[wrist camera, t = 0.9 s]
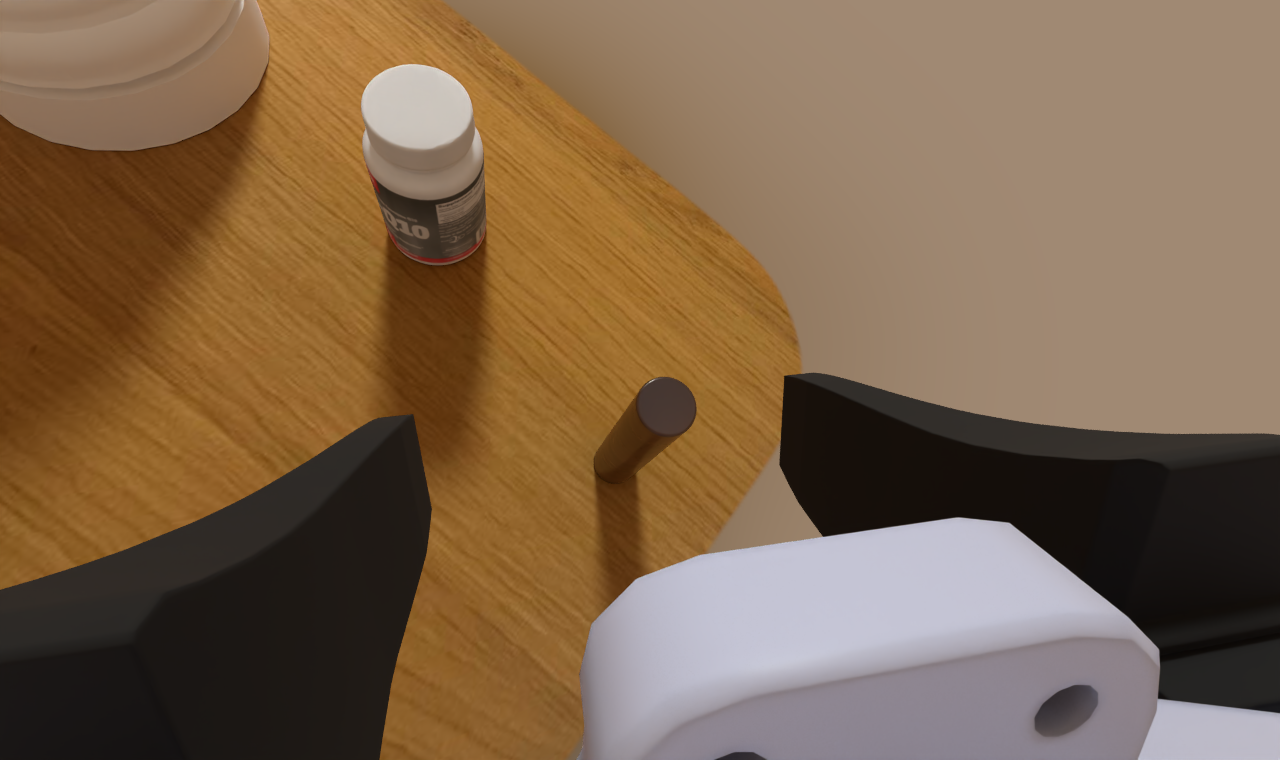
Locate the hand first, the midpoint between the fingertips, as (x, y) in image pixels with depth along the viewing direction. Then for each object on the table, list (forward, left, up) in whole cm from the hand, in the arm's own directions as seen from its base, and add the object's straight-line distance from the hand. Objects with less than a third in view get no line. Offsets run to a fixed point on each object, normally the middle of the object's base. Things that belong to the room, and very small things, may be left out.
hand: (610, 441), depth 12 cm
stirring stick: (+2, -3, -17) cm, 17 cm away
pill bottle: (+15, +4, -17) cm, 23 cm away
